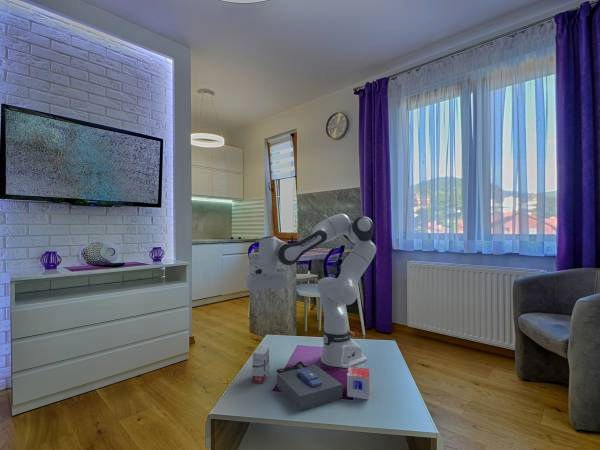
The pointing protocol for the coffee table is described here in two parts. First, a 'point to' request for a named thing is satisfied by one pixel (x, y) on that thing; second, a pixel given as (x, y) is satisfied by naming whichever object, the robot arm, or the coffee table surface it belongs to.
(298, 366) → the calculator
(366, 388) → the white red cube carton
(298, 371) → the block
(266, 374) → the ink box
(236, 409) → the coffee table surface
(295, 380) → the plate
